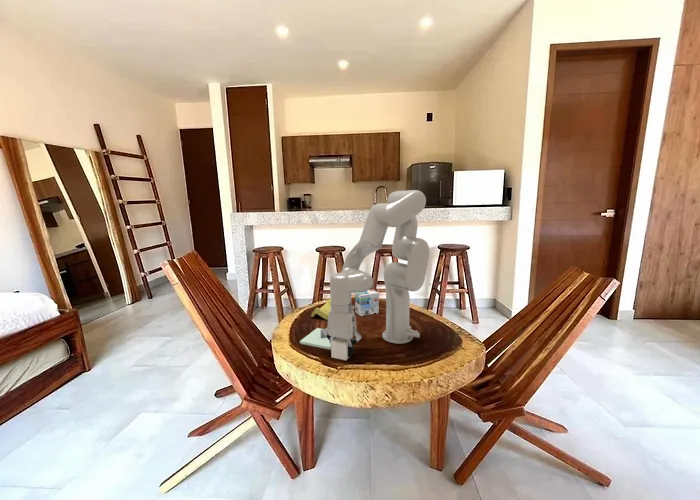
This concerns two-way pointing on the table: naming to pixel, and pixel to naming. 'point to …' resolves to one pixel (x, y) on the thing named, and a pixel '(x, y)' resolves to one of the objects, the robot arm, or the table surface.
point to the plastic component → (323, 310)
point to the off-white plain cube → (339, 348)
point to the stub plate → (317, 339)
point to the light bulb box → (367, 302)
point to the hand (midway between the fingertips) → (342, 353)
